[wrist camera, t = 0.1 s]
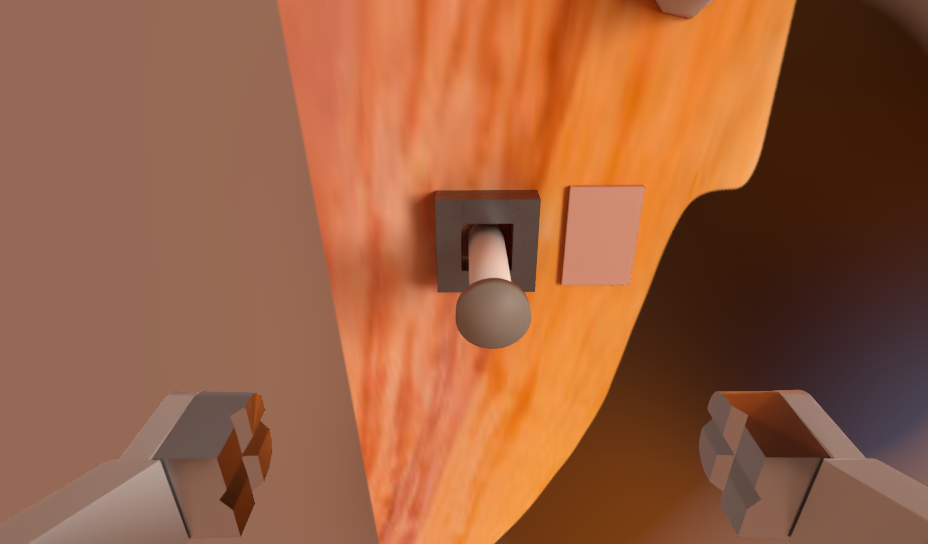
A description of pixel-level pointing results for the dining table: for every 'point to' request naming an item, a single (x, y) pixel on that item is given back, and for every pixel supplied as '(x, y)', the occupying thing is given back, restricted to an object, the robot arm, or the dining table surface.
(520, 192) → the eye block
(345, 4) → the dining table surface
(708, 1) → the flask
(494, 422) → the dining table surface
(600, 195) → the pad
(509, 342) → the peg
